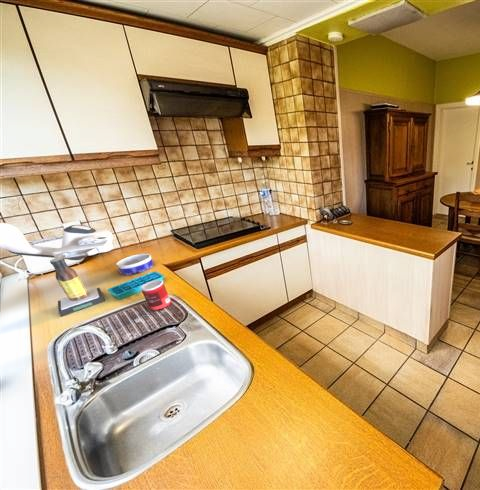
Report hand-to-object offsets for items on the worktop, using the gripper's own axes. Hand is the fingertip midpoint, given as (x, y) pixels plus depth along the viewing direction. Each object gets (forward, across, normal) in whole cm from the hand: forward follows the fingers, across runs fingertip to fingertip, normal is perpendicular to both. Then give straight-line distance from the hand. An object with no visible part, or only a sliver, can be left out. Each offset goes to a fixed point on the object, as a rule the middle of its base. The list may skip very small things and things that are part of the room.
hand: (74, 256), depth 122 cm
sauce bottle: (+10, 0, +17) cm, 19 cm away
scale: (+10, 0, +20) cm, 22 cm away
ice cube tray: (+5, +20, +20) cm, 29 cm away
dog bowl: (-21, +11, +20) cm, 31 cm away
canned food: (+28, +36, +20) cm, 50 cm away
